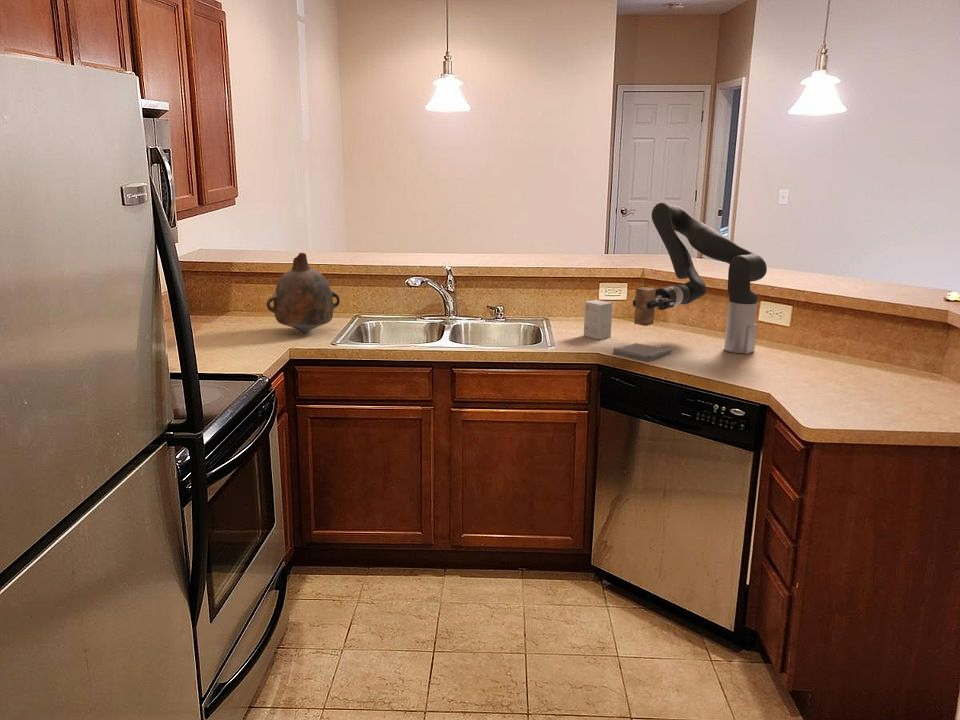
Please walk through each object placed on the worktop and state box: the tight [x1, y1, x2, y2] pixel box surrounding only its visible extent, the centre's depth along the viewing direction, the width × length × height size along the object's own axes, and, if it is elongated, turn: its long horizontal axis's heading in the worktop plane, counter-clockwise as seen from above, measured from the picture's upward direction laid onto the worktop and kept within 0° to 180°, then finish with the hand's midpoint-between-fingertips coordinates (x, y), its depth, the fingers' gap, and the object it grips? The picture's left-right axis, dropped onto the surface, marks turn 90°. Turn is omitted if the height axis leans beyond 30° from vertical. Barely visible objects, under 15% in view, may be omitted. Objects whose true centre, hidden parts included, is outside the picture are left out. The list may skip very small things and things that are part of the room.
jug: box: [266, 252, 341, 333], centre depth 288 cm, size 24×21×30 cm
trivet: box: [612, 342, 672, 362], centre depth 267 cm, size 14×14×2 cm
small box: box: [583, 299, 613, 340], centre depth 289 cm, size 8×6×13 cm
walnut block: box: [633, 286, 656, 327], centre depth 263 cm, size 5×5×12 cm
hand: (640, 304), depth 261 cm, fingers closed on walnut block, 4 cm apart
